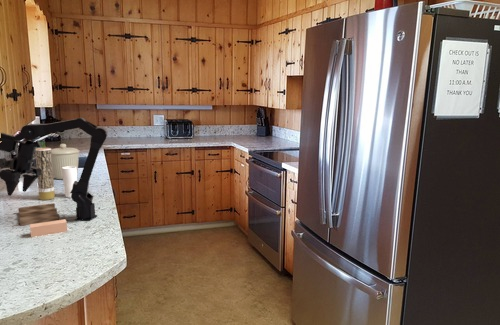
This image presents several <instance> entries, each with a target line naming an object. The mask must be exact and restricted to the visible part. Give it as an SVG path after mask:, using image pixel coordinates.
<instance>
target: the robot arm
mask: <svg viewBox="0 0 500 325" xmlns="http://www.w3.org/2000/svg"><path fill="white" fill-rule="evenodd" d="M74 129H80V130H82V132H85V133H86V134H87V135H89V136H91V137H90V145H89V146H90V147H89V151H88V153H87V156H86V160H85V161H84V162H85V163H84V165H83V168H82V172H81V175H80V177H79V179H78V180H77V181H75V182H74V183H73V188H72V190H71V192H70V194H71V193H72V194H71V197H70V198H71V200H72V201H73V202H74V203H76V207H75V214H76V218H75V220H76V221H87V222H89V221H91V220H93V219H94V218H97V217H98V214H96V208H95V204H96V203H94V202H93V200H94V195H93V194H92V193H90V192H89V187H90V186H89V185H90V178H91V177H92V172H93V170H94V167H95V164H96V162H97V158H98V155H99V153H100V150H101V148H102V146H103V145H104V143H105V141H106V139H107V137H108V130H107V129H106V128H105V127H103V126H98V125H95V124H93V122H90V121H88V120H86V118H84V117H77V118H73V119H69V120H68V119H67V120H62V121H57V122H52V123H29V124H27V125H24V126H22V127H21V129H20V132H19V133H18V134H15V135H12V134H7V133H5V132H0V133H1V138H0V141H2V142H1V143H0V151H1V152H6V153H9V154H11V153H14V152H16V151H17V152H16V155H15V156H13V157H12V159H6V158H5V157H4V158H3V157H2V158H0V179H1V180H3V181H4V182H5V186H6V192H7V196H9V197H11V196H12V195H13V193H14V191H15V190H16V188H17V187H18V185H19V183H20V178H21V177H23V182H22V192H24V193H25V192H27V191H28V189H29V188H30V187H31V185H32V184H33V183H35V181H36V180H38V177H39V175H41V172H42V170H41V169H40V168H38V167H37V166H33V163H36V158H34V156H35V149H36V148H42V144H41V143H40V140H38V139H37V138H39V137H40V138H41V137H43V136H45V135H49V134H54V133H58V132H64V131H69V130H74ZM35 139H37V140H36V141H33V140H35ZM22 140H26V141H22Z"/></svg>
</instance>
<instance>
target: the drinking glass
mask: <svg viewBox="0 0 500 325" xmlns="http://www.w3.org/2000/svg"><path fill="white" fill-rule="evenodd" d="M62 177H63V179H62V183H63V187H64V195H65V196H64V197H66V198H69V199H70V198H71V194H72V193H71V194H70V192H71V190H72V188H73V183H74V182H75V181H77V182H78V173H77V168H76V167H75V166H67V167H62Z"/></svg>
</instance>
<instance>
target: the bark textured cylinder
mask: <svg viewBox="0 0 500 325" xmlns="http://www.w3.org/2000/svg"><path fill="white" fill-rule="evenodd" d="M51 149H52V147H36V148H35V152H34V155H35V163H36V164H35V165H36V166H35V167H38V168H40V169H41V170H42V172H41V175H39V177H38V178H37V186H38V197H39V198H38V199H39V200H41V201H49V200H53V199H55V183H54V180H55V179H54V177H53V168H52V155H51Z"/></svg>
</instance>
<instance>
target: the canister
mask: <svg viewBox="0 0 500 325" xmlns="http://www.w3.org/2000/svg"><path fill="white" fill-rule="evenodd" d="M80 152H81V151H80V149H78V148H76V147H67V144H65V143H60V145H59V147H55V148H51V155H52V168H53V179H54V180H55V179H56V180H63V177H62V167H67V166H75V167H76V168H77V174H78V170H79V155H80V154H79V153H80Z"/></svg>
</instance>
